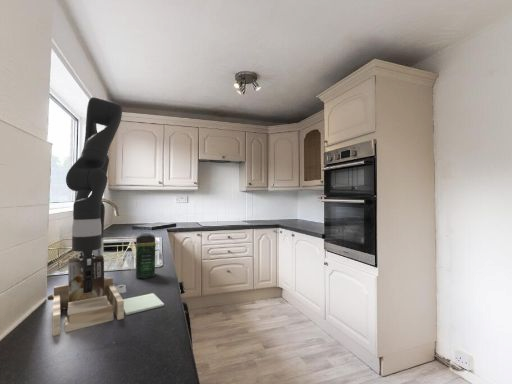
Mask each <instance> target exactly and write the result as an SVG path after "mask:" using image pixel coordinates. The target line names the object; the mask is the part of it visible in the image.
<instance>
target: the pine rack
mask: <svg viewBox="0 0 512 384" xmlns="http://www.w3.org/2000/svg"><path fill="white" fill-rule="evenodd" d="M115 286H116V285H114V277H113V276H110V277H104V296H107V301H109V302H110V303H111V305H112V306H113V314H114V316H115V318H116V319H117V320H118V321H119V320H123V319H124V318H125V316H124V315H125V312H124V300H123V297H122V296H121V293H118V291H117V290H116V288H115ZM53 295H54V299H53V303H52V305H53V307H52V337H55V336H60V335H61V311H62V310H66V309H68V303H69V293H68V283H67V284H62V285H61V284H60V285H56V286H53Z"/></svg>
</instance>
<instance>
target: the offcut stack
mask: <svg viewBox="0 0 512 384" xmlns="http://www.w3.org/2000/svg"><path fill="white" fill-rule="evenodd" d="M110 321H114V311H113V306H112V305H111V303H110V302H109V301H108V300H107V296H101V297H96V298H90V299H85V300H79V301H74V302H69V303H68V308H67V311H66V317H64V333H67V332H71V331H75V330H79V329H84V328H86V327H87V328H88V327H92V326H95V325H100V324H103V323H107V322H110Z"/></svg>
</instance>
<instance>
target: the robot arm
mask: <svg viewBox="0 0 512 384" xmlns="http://www.w3.org/2000/svg"><path fill="white" fill-rule="evenodd" d="M122 115H123V107H122V105H121V104H119V103H117V102H114V101H111V100H107V99H104V98H99V97H97V96H92V97H90V98H89V100H88V102H87V107H86V116H85V117H86V119H85V132H84V133H85V134H84V143H83V148H82V152H81V154H80V156H79V158H77V159H76V160H75V162H74V163H73V165H72V166H71V167H70V168H69V170H68V172H67V173H66V175H65V183H66V186H67V188H68V189H70V191H73V192H76V196H75V199H74V200H75V201H74V202H73V206H72V209H73V211H72V216H73V221H72V228H71V229H72V230H71V249H72V251H73V252H76V253H77V258H79V260H83V262H84V268H81V272H82V273H83V292H84V293H90V292H92V279H93V278H94V270H95V267H94V261H95V256H98V255H102V256H103V257H104V232H105V231H104V229H105V215H106V210H105V209H106V207H105V204H104V202H103V196H104V194H105V191H106V187H107V183H108V169H109V163H110V158H109V155H108V153H109V150H110V147H111V145H112V142H113V140H114V138H115V136H116V134H117V132H118V129H119V127H120V124H121V122H122V117H123V116H122ZM97 125H101V126H104V127H105V128H103V129H101V130H100V131H98V129H97ZM87 271H91V274H90V275H86V272H87Z"/></svg>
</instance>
